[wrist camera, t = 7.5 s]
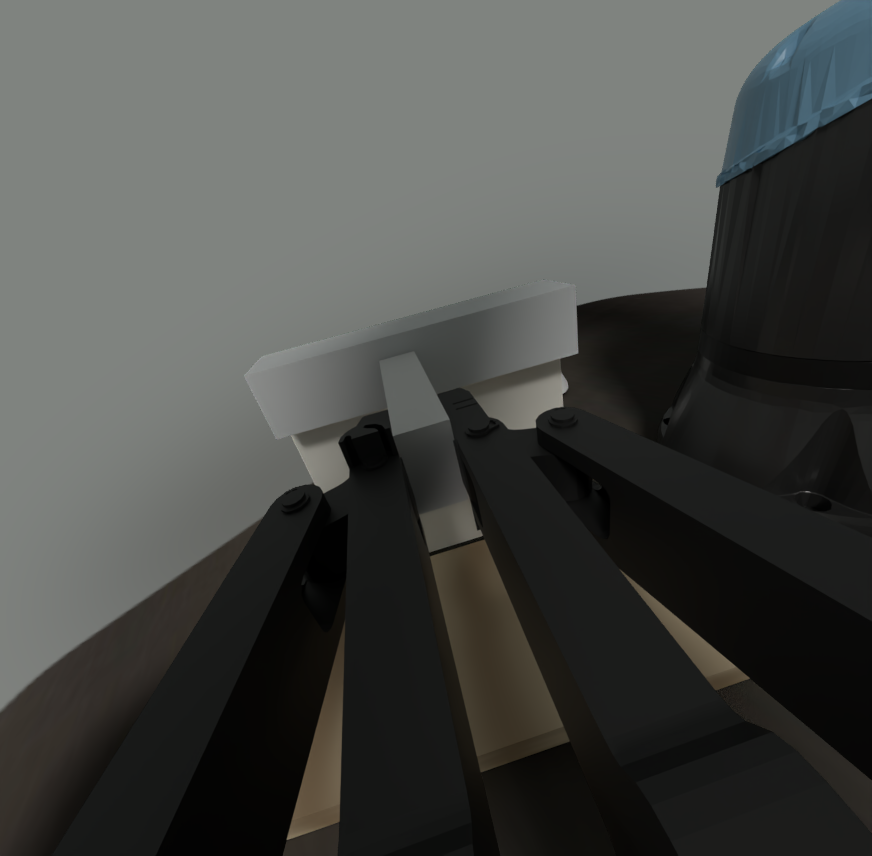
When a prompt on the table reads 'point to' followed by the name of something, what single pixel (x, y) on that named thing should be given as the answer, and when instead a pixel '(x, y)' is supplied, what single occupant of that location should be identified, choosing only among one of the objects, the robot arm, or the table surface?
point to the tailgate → (445, 368)
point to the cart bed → (479, 680)
